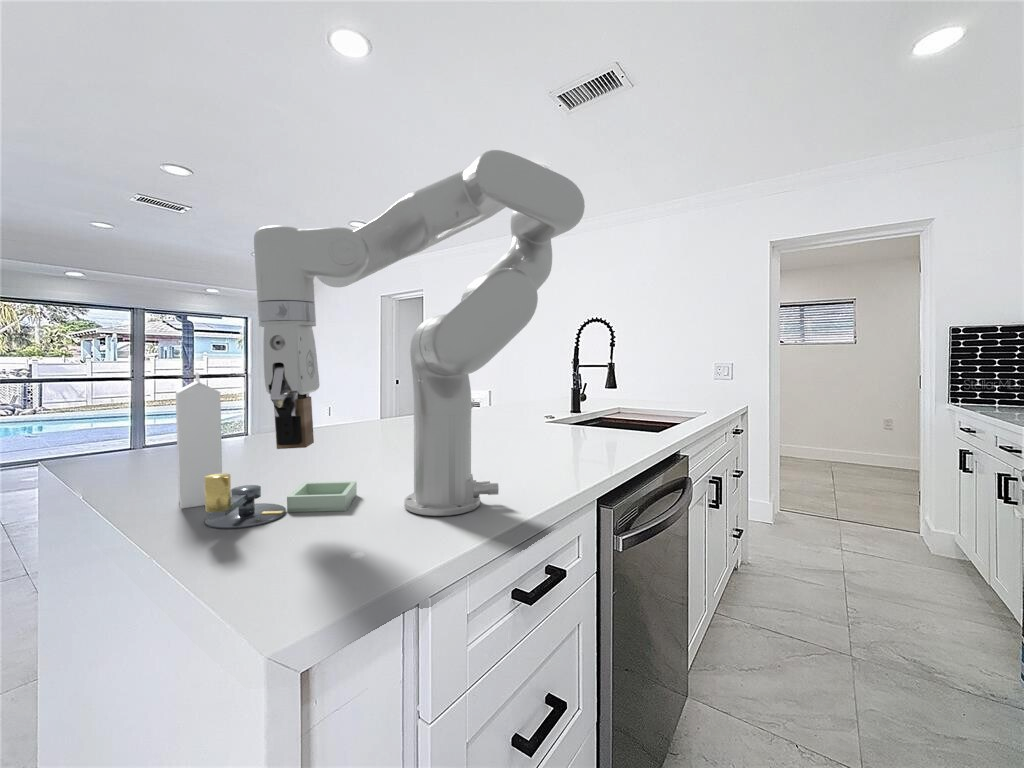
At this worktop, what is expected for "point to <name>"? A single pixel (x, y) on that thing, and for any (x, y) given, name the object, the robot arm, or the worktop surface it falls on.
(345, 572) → the worktop surface
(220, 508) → the crank
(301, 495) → the tray
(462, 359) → the robot arm
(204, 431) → the milk
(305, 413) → the block
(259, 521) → the crank base
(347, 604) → the worktop surface
